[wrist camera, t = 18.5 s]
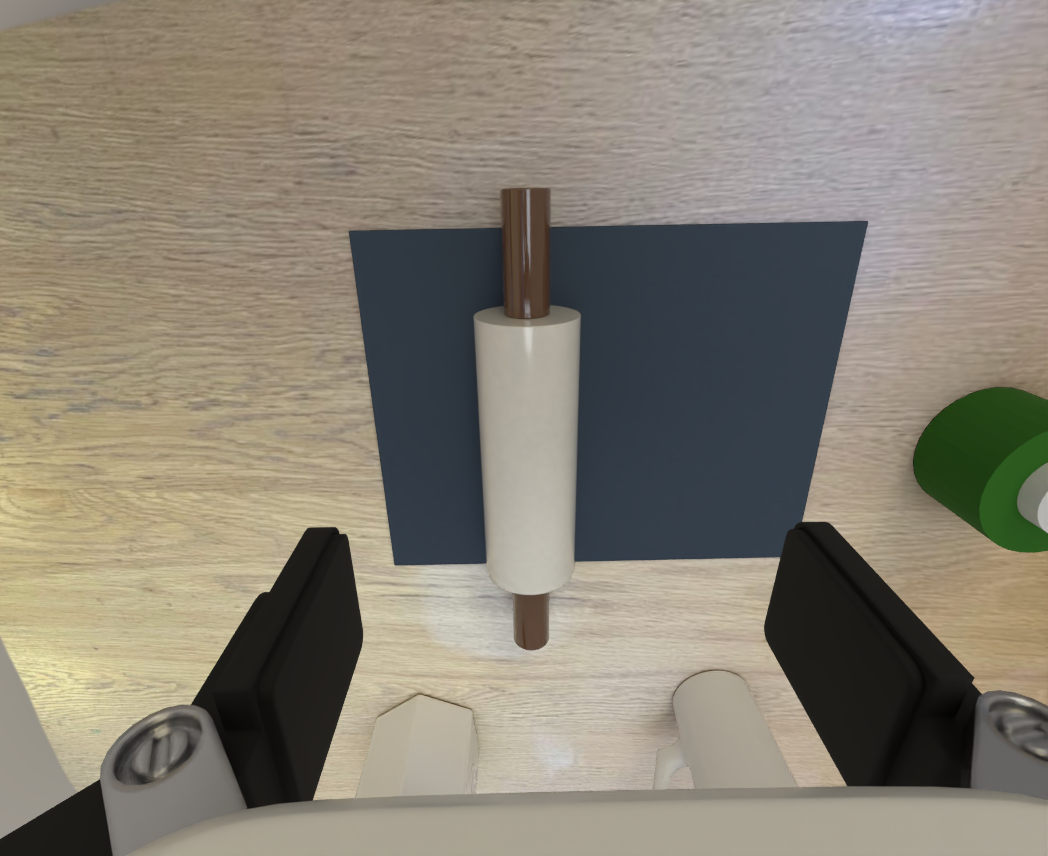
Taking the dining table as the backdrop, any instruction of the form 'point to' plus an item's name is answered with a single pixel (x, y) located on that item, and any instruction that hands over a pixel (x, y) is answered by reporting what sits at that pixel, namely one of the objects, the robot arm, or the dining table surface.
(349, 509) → the dining table surface
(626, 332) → the baking mat
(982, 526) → the candle
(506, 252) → the rolling pin
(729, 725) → the mug
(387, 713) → the jar
